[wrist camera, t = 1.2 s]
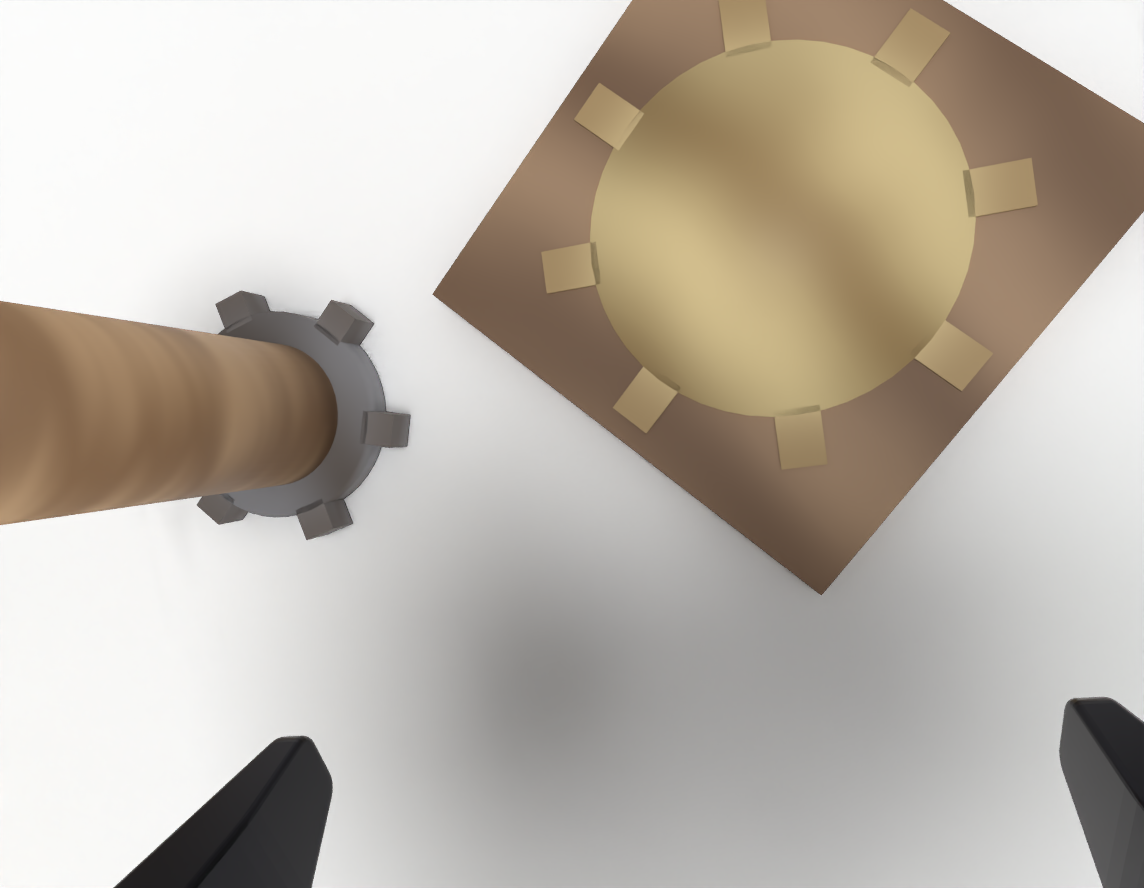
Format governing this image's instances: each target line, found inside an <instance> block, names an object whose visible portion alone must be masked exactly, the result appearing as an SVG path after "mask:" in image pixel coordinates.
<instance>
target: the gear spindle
mask: <svg viewBox="0 0 1144 888" xmlns="http://www.w3.org/2000/svg"><path fill="white" fill-rule="evenodd" d="M216 307H217V309H218V312H219V315H220V317H221V320H222V322H223V325H224V327H225V329H224V330H223V331H221V332H220V333H219V334H211V333H205V332H198V331H192V330H185V329H179V328H172V327H166V326H159V325H153V324H146V323H140V322H133V321H127V320H120V319H114V318H107V317H101V316H94V315H88V314H81V313H75V312H68V311H62V310H55V309H49V308H42V307H36V306H29V305H23V304H16V303H10V302H3V301H0V525H4V524H11V523H18V522H25V521H32V520H39V519H46V518H54V517H61V516H68V515H75V514H82V513H89V512H96V511H103V510H110V509H117V508H124V507H131V506H138V505H145V504H152V503H159V502H166V501H173V500H180V499H187V498H194V497H201V496H202V498H201V499H200V501H199V502H198V504H197V506H198V507H199V508H200V509H202V510H203V511H204V512H205V513H206V514H207V515H208V516H209V517H211V518H212V519H213V520H214V521H215V522H216V523H217V524H224V523H229V522H234V521H239V520H243V518H244V517H245V515H246V514H247V512H250V513H253V514H257V515H261V516H267V517H289V516H294V515H297V516H298V519H299V522H300V524H301V527H302V529H303V532H304V535H305V537H306V540H309V539H313V538H316V537H320V536H324V535H327V534H330V533H332V532H334V531H337V530H339V529H341V528H344V527H346V526H348V525H351V524H353V523H352V520H351V518H350V515H349V513H348V510H347V507H346V505H345V502H344V500H343V499H344V498H346V497H347V496H348V495H350V494H351V493H352V492H353V491H354V490H355V489H356V488H357V487H358V486H360V484H361V483H362V482H363V481H364V479H365V478H366V477H367V476H368V474H369V472H370V471H371V469H372V467H373V466H374V464H375V462H376V459H377V457H378V455H379V452H380V449H381V447H388V448H393V447H405V446H407V440H408V431H409V422H410V415H408V414H400V413H393V412H386V408H385V399H384V394H383V389H382V385H381V382H380V379H379V376H378V374H377V372H376V370H375V367H374V365H373V363H372V362H371V360H370V359H369V357H368V356H367V354H366V353H365V351H364V350H363V349H362V348H361V347H360V344H361V342H362V341H363V339H364V338H365V336H366V335H367V333H368V332H369V330H370V329H371V327H372V326H373V324H374V323H373V322H371V321H370V320H369V319H368V318H366V317H365V316H364V315H363V314H361V313H360V312H359V311H357V310H356V309H355V308H354V307H352V306H351V305H348V304H345V303H341V302H337V301H334V300H331V301H330V303H329V304H328V306H327V307H326V309H325V310H324V312H323V313H322V315H321V316H320V318H319V319H316V318H311V317H307V316H302V315H298V314H293V313H287V312H273V311H271V312H270V310H269V308H268V305H267V302H266V300H265V297H264V296H261V295H257V294H253V293H249V292H245V291H239V292H237V293H236V294H234V295H232V296H230V297H228V298H226V299H224V300H222V301H220V302H218V303H217V304H216Z"/></svg>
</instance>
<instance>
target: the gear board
mask: <svg viewBox="0 0 1144 888" xmlns="http://www.w3.org/2000/svg"><path fill="white" fill-rule="evenodd" d="M1143 211H1144V123H1143V122H1141V121H1139V120H1138V119H1136V118H1135V117H1133V116H1131V115H1130V114H1128V113H1126V112H1125V111H1123V110H1121V109H1120V108H1118V107H1117V106H1115V105H1113V104H1112V103H1110V102H1108V101H1107V100H1105V99H1103V98H1102V97H1100V96H1099V95H1097V94H1095V93H1094V92H1092V91H1090V90H1089V89H1087V88H1086V87H1084V86H1082V85H1081V84H1079V83H1077V82H1076V81H1074V80H1072V79H1071V78H1069V77H1068V76H1066V75H1064V74H1063V73H1061V72H1059V71H1058V70H1056V69H1054V68H1053V67H1051V66H1050V65H1048V64H1046V63H1045V62H1043V61H1041V60H1040V59H1038V58H1037V57H1035V56H1033V55H1032V54H1030V53H1028V52H1027V51H1025V50H1023V49H1022V48H1020V47H1019V46H1017V45H1015V44H1014V43H1012V42H1010V41H1009V40H1007V39H1005V38H1004V37H1002V36H1001V35H999V34H997V33H996V32H994V31H992V30H991V29H989V28H987V27H986V26H984V25H983V24H981V23H979V22H978V21H976V20H974V19H973V18H971V17H970V16H968V15H966V14H965V13H963V12H961V11H960V10H958V9H956V8H955V7H953V6H952V5H950V4H948V3H947V2H945V1H943V0H632V2H631V3H630V5H629V6H628V7H627V9H626V10H625V12H624V13H623V15H622V16H621V18H620V19H619V21H618V22H617V24H616V25H615V27H614V28H613V30H612V31H611V32H610V34H609V35H608V37H607V38H606V40H605V41H604V43H603V44H602V46H601V47H600V49H599V50H598V52H597V53H596V55H595V56H594V57H593V59H592V60H591V62H590V63H589V65H588V66H587V68H586V69H585V71H584V72H583V74H582V75H581V77H580V78H579V79H578V81H577V82H576V84H575V85H574V87H573V88H572V90H571V91H570V93H569V94H568V96H567V97H566V99H565V100H564V102H563V103H562V104H561V106H560V107H559V109H558V110H557V112H556V113H555V115H554V116H553V118H552V119H551V121H550V122H549V124H548V125H547V127H546V128H545V129H544V131H543V132H542V134H541V135H540V137H539V138H538V140H537V141H536V143H535V144H534V146H533V147H532V149H531V150H530V152H529V153H528V154H527V156H526V157H525V159H524V160H523V162H522V163H521V165H520V166H519V168H518V169H517V171H516V172H515V174H514V175H513V176H512V178H511V179H510V181H509V182H508V184H507V185H506V187H505V188H504V190H503V191H502V193H501V194H500V196H499V197H498V199H497V200H496V201H495V203H494V204H493V206H492V207H491V209H490V210H489V212H488V213H487V215H486V216H485V218H484V219H483V221H482V222H481V224H480V225H479V226H478V228H477V229H476V231H475V232H474V234H473V235H472V237H471V238H470V240H469V241H468V243H467V244H466V246H465V247H464V249H463V250H462V251H461V253H460V254H459V256H458V257H457V259H456V260H455V262H454V263H453V265H452V266H451V268H450V269H449V271H448V272H447V273H446V275H445V276H444V278H443V279H442V281H441V282H440V284H439V285H438V287H437V288H436V290H435V291H434V293H433V295H434V296H435V297H436V298H438V299H439V300H440V301H442V302H443V303H444V304H445V305H447V306H448V307H449V308H451V309H452V310H453V311H454V312H456V313H457V314H458V315H460V316H461V317H462V318H464V319H465V320H466V321H467V322H469V323H470V324H471V325H473V326H474V327H475V328H476V329H478V330H479V331H480V332H482V333H483V334H484V335H486V336H487V337H488V338H489V339H491V340H492V341H493V342H495V343H496V344H497V345H498V346H500V347H501V348H502V349H504V350H505V351H506V352H507V353H509V354H510V355H511V356H513V357H514V358H515V359H517V360H518V361H519V362H520V363H522V364H523V365H524V366H526V367H527V368H528V369H529V370H531V371H532V372H533V373H535V374H536V375H537V376H538V377H540V378H541V379H542V380H544V381H545V382H546V383H548V384H549V385H550V386H551V387H553V388H554V389H555V390H557V391H558V392H559V393H560V394H562V395H563V396H564V397H566V398H567V399H568V400H570V401H571V402H572V403H573V404H575V405H576V406H577V407H579V408H580V409H581V410H582V411H584V412H585V413H586V414H588V415H589V416H590V417H591V418H593V419H594V420H595V421H597V422H598V423H599V424H601V425H602V426H603V427H604V428H606V429H607V430H608V431H610V432H611V433H612V434H613V435H615V436H616V437H617V438H619V439H620V440H621V441H623V442H624V443H625V444H626V445H628V446H629V447H630V448H632V449H633V450H634V451H635V452H637V453H638V454H639V455H641V456H642V457H643V458H644V459H646V460H647V461H648V462H650V463H651V464H652V465H654V466H655V467H656V468H657V469H659V470H660V471H661V472H663V473H664V474H665V475H666V476H668V477H669V478H670V479H672V480H673V481H674V482H675V483H677V484H678V485H679V486H681V487H682V488H683V489H685V490H686V491H687V492H688V493H690V494H691V495H692V496H694V497H695V498H696V499H697V500H699V501H700V502H701V503H703V504H704V505H705V506H707V507H708V508H709V509H710V510H712V511H713V512H714V513H716V514H717V515H718V516H719V517H721V518H722V519H723V520H725V521H726V522H727V523H728V524H730V525H731V526H732V527H734V528H735V529H736V530H738V531H739V532H740V533H741V534H743V535H744V536H745V537H747V538H748V539H749V540H750V541H752V542H753V543H754V544H756V545H757V546H758V547H759V548H761V549H762V550H763V551H765V552H766V553H767V554H769V555H770V556H771V557H772V558H774V559H775V560H776V561H778V562H779V563H780V564H781V565H783V566H784V567H785V568H787V569H788V570H789V571H791V572H792V573H793V574H794V575H796V576H797V577H798V578H800V579H801V580H802V581H803V582H805V583H806V584H807V585H809V586H810V587H811V588H812V589H814V590H815V591H816V592H818V593H819V594H820V595H822V594H823V593H824V592H825V591H826V589H827V588H828V587H829V586H830V585H831V583H832V582H833V581H834V580H835V579H836V577H837V576H838V575H839V574H840V573H841V572H842V570H843V569H844V568H845V567H846V566H847V564H848V563H849V562H850V561H851V560H852V558H853V557H854V556H855V555H856V554H857V552H858V551H859V550H860V549H861V548H862V546H863V545H864V544H865V543H866V542H867V541H868V539H869V538H870V537H871V536H872V535H873V533H874V532H875V531H876V530H877V529H878V527H879V526H880V525H881V524H882V523H883V521H884V520H885V519H886V518H887V517H888V516H889V514H890V513H891V512H892V511H893V510H894V508H895V507H896V506H897V505H898V504H899V502H900V501H901V500H902V499H903V498H904V496H905V495H906V494H907V493H908V492H909V490H910V489H911V488H912V487H913V486H914V485H915V483H916V482H917V481H918V480H919V479H920V477H921V476H922V475H923V474H924V473H925V471H926V470H927V469H928V468H929V467H930V465H931V464H932V463H933V462H934V461H935V459H936V458H937V457H938V456H939V455H940V454H941V452H942V451H943V450H944V449H945V448H946V446H947V445H948V444H949V443H950V442H951V440H952V439H953V438H954V437H955V436H956V434H957V433H958V432H959V431H960V430H961V428H962V427H963V426H964V425H965V424H966V423H967V421H968V420H969V419H970V418H971V417H972V415H973V414H974V413H975V412H976V411H977V409H978V408H979V407H980V406H981V405H982V403H983V402H984V401H985V400H986V399H987V397H988V396H989V395H990V394H991V393H992V392H993V390H994V389H995V388H996V387H997V386H998V384H999V383H1000V382H1001V381H1002V380H1003V378H1004V377H1005V376H1006V375H1007V374H1008V372H1009V371H1010V370H1011V369H1012V368H1013V366H1014V365H1015V364H1016V363H1017V362H1018V361H1019V359H1020V358H1021V357H1022V356H1023V355H1024V353H1025V352H1026V351H1027V350H1028V349H1029V347H1030V346H1031V345H1032V344H1033V343H1034V341H1035V340H1036V339H1037V338H1038V337H1039V335H1040V334H1041V333H1042V332H1043V331H1044V330H1045V328H1046V327H1047V326H1048V325H1049V324H1050V322H1051V321H1052V320H1053V319H1054V318H1055V316H1056V315H1057V314H1058V313H1059V312H1060V310H1061V309H1062V308H1063V307H1064V306H1065V304H1066V303H1067V302H1068V301H1069V300H1070V299H1071V297H1072V296H1073V295H1074V294H1075V293H1076V291H1077V290H1078V289H1079V288H1080V287H1081V285H1082V284H1083V283H1084V282H1085V281H1086V279H1087V278H1088V277H1089V276H1090V275H1091V273H1092V272H1093V271H1094V270H1095V269H1096V268H1097V266H1098V265H1099V264H1100V263H1101V262H1102V260H1103V259H1104V258H1105V257H1106V256H1107V254H1108V253H1109V252H1110V251H1111V250H1112V248H1113V247H1114V246H1115V245H1116V244H1117V242H1118V241H1119V240H1120V239H1121V238H1122V237H1123V235H1124V234H1125V233H1126V232H1127V231H1128V229H1129V228H1130V227H1131V226H1132V225H1133V223H1134V222H1135V221H1136V220H1137V219H1138V217H1139V216H1140V215H1141V214H1142V213H1143Z"/></svg>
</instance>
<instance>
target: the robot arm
mask: <svg viewBox="0 0 1144 888" xmlns="http://www.w3.org/2000/svg"><path fill="white" fill-rule="evenodd" d="M1059 753H1060V762H1061V766H1062V770H1063V773H1064V776H1065V779H1066V782H1067V785H1068V788H1069V791H1070V793H1071V796H1072V799H1073V802H1074V805H1075V808H1076V811H1077V814H1078V816H1079V819H1080V822H1081V825H1082V828H1083V831H1084V834H1085V837H1086V840H1087V842H1088V845H1089V848H1090V851H1091V854H1092V857H1093V860H1094V863H1095V866H1096V868H1097V871H1098V874H1099V877H1100V880H1101V883H1102V886H1103V888H1144V722H1143V721H1142V720H1140V719H1139V718H1138V717H1136V716H1135V715H1134V714H1133V713H1131V712H1130V711H1129V710H1127V709H1126V708H1125V707H1123V706H1122V705H1121V704H1120V703H1118V702H1117V701H1115V700H1113V699H1111V698H1108V697H1089V698H1073V699H1070V700H1069V701H1068V702H1067V703H1066V706H1065V710H1064V718H1063V725H1062V733H1061V740H1060V748H1059ZM332 789H333V786H332V779H331V775H330V773H329V771H328V769H327V767H326V765H325V763H324V761H323V759H322V757H321V755H320V753H319V752H318V750H317V748H316V746H315V744H314V742H313V741H312V739H310V738H309V737H307V736H287V737H280V738H278V739H276V740H274V741H273V742H272V743H271V744H269V745H268V746H267V747H266V748H265V749H264V750H263V751H262V752H261V753H260V754H259V755H257V756H256V757H255V758H254V759H253V760H252V761H251V762H250V763H249V764H248V765H247V766H246V767H244V768H243V769H242V770H241V771H240V772H239V773H238V774H237V775H236V776H235V777H234V778H232V779H231V780H230V781H229V782H228V783H227V784H226V785H225V786H224V787H223V788H222V789H220V790H219V791H218V792H217V793H216V794H215V795H214V796H213V797H212V798H211V799H210V800H209V801H207V802H206V803H205V804H204V805H203V806H202V807H201V808H200V809H199V810H198V811H197V812H195V813H194V814H193V815H192V816H191V817H190V818H189V819H188V820H187V821H186V822H185V823H183V824H182V825H181V826H180V827H179V828H178V829H177V830H176V831H175V832H174V833H173V834H172V835H170V836H169V837H168V838H167V839H166V840H165V841H164V842H163V843H162V844H161V845H160V846H158V847H157V848H156V849H155V850H154V851H153V852H152V853H151V854H150V855H149V856H148V857H146V858H145V859H144V860H143V861H142V862H141V863H140V864H139V865H138V866H137V867H136V868H135V869H133V870H132V871H131V872H130V873H129V874H128V875H127V876H126V877H125V878H124V879H123V880H121V881H120V882H119V883H118V884H117V885H116V886H115V887H114V888H312V883H313V879H314V874H315V870H316V865H317V861H318V856H319V852H320V847H321V843H322V838H323V834H324V829H325V825H326V820H327V816H328V811H329V807H330V802H331V798H332Z"/></svg>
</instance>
